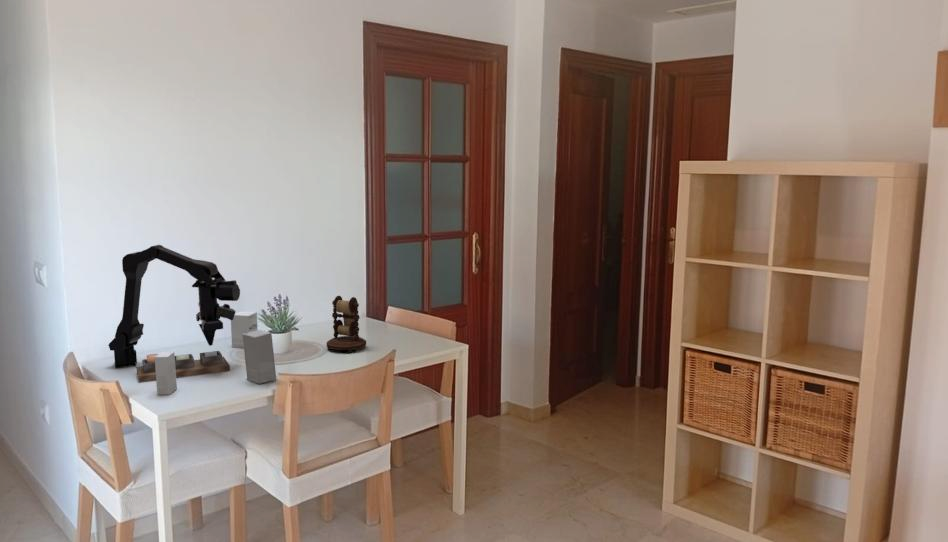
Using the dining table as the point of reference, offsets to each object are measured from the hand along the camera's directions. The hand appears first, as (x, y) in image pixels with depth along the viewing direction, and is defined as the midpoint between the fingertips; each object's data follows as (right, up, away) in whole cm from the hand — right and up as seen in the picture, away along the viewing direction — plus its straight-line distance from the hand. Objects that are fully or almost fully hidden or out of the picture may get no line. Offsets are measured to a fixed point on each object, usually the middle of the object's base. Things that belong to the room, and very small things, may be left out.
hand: (210, 345), depth 252 cm
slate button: (0, -6, +1) cm, 6 cm away
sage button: (-8, -6, -3) cm, 11 cm away
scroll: (+41, -4, +27) cm, 50 cm away
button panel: (-8, -9, -3) cm, 12 cm away
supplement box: (+2, -3, +31) cm, 32 cm away
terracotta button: (-16, -6, -8) cm, 19 cm away
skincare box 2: (+20, -10, -12) cm, 25 cm away
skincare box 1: (-5, -12, -24) cm, 27 cm away
